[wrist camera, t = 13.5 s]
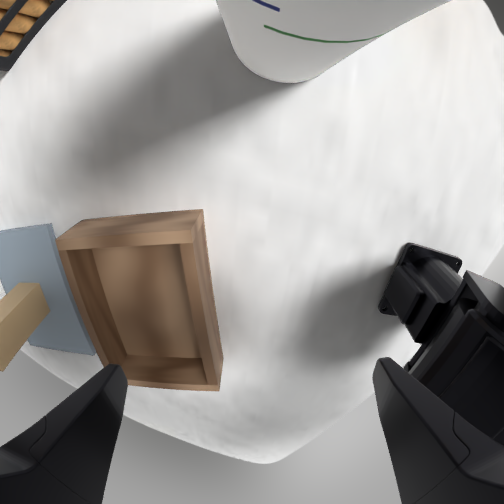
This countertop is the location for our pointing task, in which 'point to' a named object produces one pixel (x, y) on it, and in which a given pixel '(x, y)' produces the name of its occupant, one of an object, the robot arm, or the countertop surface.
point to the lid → (37, 296)
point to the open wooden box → (147, 296)
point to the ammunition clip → (22, 26)
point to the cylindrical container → (309, 31)
